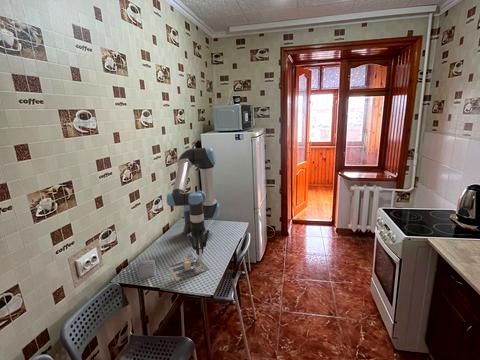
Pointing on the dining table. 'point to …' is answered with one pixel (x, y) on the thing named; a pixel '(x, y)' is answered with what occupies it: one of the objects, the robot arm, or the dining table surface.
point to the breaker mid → (187, 265)
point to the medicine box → (147, 268)
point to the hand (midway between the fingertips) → (200, 259)
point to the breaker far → (190, 258)
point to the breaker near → (198, 268)
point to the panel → (176, 276)
